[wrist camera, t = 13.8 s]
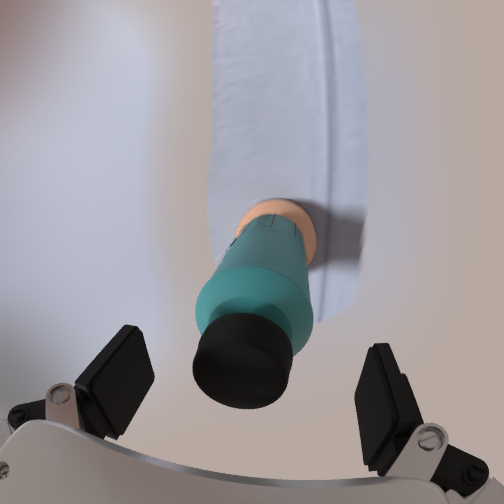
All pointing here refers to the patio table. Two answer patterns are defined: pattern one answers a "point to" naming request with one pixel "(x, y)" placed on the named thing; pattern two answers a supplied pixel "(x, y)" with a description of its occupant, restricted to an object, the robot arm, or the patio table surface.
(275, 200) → the tan rounded flat piece
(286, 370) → the beverage bottle
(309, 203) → the patio table surface
